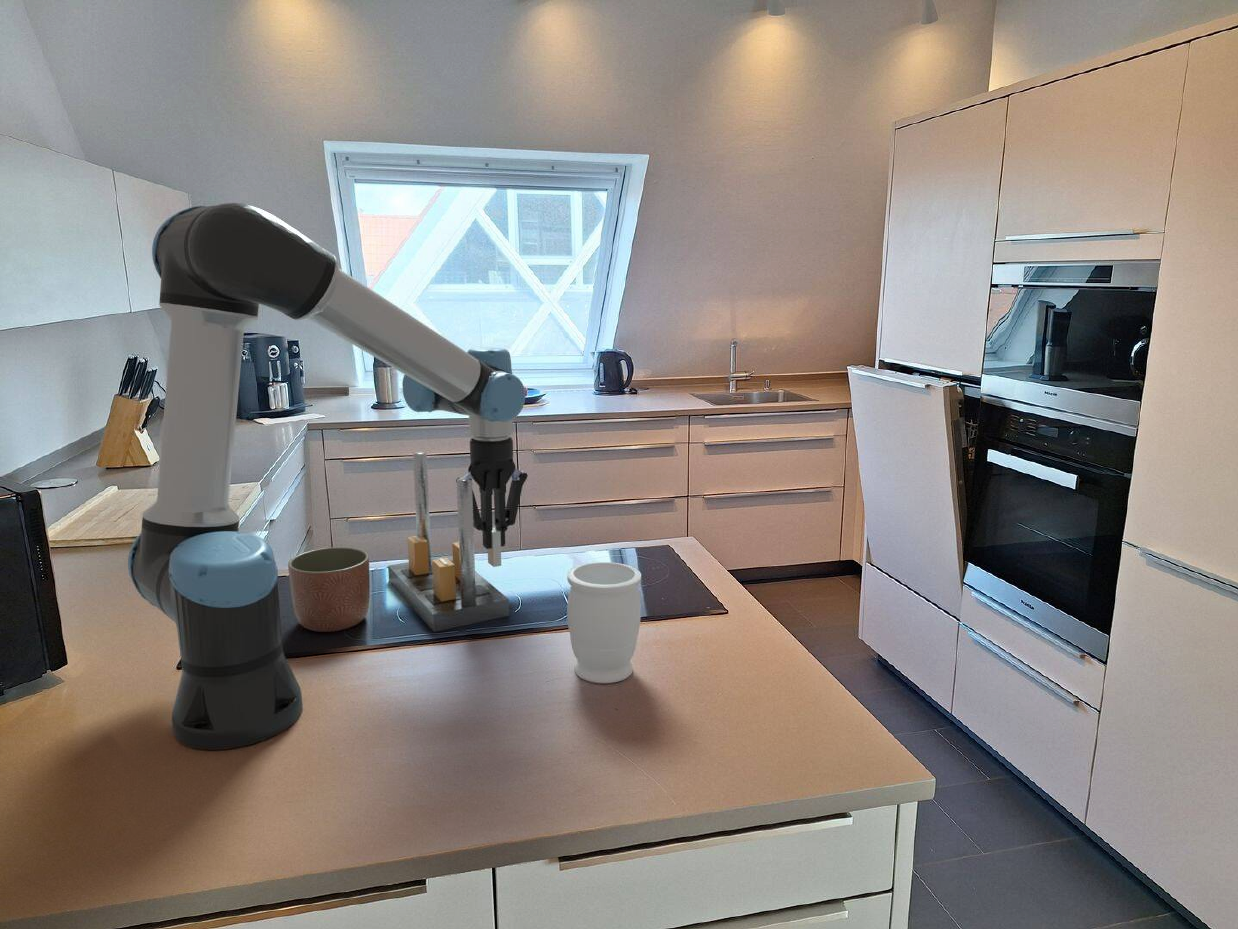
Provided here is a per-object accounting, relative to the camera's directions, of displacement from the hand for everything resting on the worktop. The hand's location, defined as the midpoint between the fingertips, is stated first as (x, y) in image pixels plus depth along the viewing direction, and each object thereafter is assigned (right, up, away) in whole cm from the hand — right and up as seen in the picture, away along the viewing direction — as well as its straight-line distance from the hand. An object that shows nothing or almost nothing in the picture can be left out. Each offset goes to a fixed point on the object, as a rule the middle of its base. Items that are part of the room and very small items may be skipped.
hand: (494, 564), depth 149 cm
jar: (+20, -12, -30) cm, 38 cm away
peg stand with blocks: (-8, -5, -4) cm, 10 cm away
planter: (-24, -8, -14) cm, 29 cm away
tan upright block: (-5, -2, -3) cm, 6 cm away
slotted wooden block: (-7, -4, -11) cm, 14 cm away
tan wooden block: (-14, -1, 0) cm, 14 cm away
